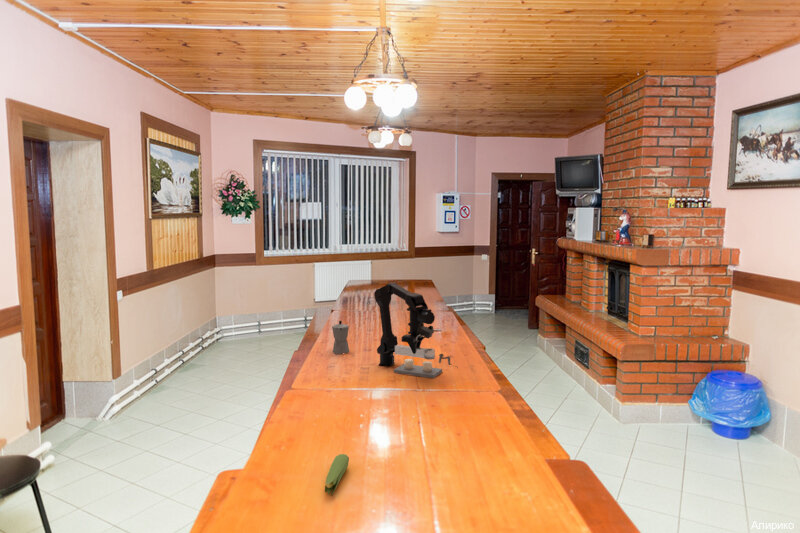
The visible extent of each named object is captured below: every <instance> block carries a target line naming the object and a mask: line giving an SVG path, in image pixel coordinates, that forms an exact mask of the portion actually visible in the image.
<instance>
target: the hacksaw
mask: <svg viewBox="0 0 800 533" xmlns="http://www.w3.org/2000/svg"><path fill="white" fill-rule="evenodd" d="M438 356H439V359H438V363H439V364H441V363H442V359H445V360H446V359H447V364H448V366H449V365H452V363H451V358H453V357H454V356H452V355H451V356H450V355H447V356H446V357H445V356H444V354H443V353H440V354H438ZM443 356H444V357H443ZM452 366H453V365H452ZM454 366H455V368H456V367H457V366H456V365H454Z"/></svg>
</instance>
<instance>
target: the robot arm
mask: <svg viewBox="0 0 800 533" xmlns="http://www.w3.org/2000/svg"><path fill="white" fill-rule="evenodd" d="M392 295H395V296H397V297H398V298H400V299H402V300H403V301H405V302H404V303H405V304H406V305H407V306H408V308H406V311H407V312H409V322H408V323H407V326H408V327H409V331H407V333H406V334H404V335H402V336H401V340H400V341H401V342H403V343H407V344H408V346H410V348H411V350H412V352H413V354H415V353H416V347H419V348H421V344H422V341H423V340H424V339H430V338H431V337H432V336H433V334H434V333H435V332H434V331H435V330H434V326H433V323H434V321H435V319H436V316H435V314H434V312H433V311H432V309H430V308H429V306H428V304H427V303H426V300H425V299H424V296H423V295H422V294H420V293H417V292H411V291H409V290H407V289H405V288H403V287H402V286H400V285H399V284H397V283H395V282H390V283H387V284H385V285H383V286H382V287H379V288H377V289H376V290H375V291H374V300H375V302H376V303H377V305H378V306H379V314H380V323H381V330H382V335H381V337H380V340H379V341H380V344H379V346H378V347H377V348H376V352H377V354H379V363H378V366H382V367H383V366H384V367H391V366H393V365H394V364H396V362H395V355H394V353H395V346H396V345H399V343H398V337H397V335H395V334H394V333H393V327H392V319H391V310H390V304H391V301H392ZM425 324H426V325H428V326H425Z"/></svg>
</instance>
